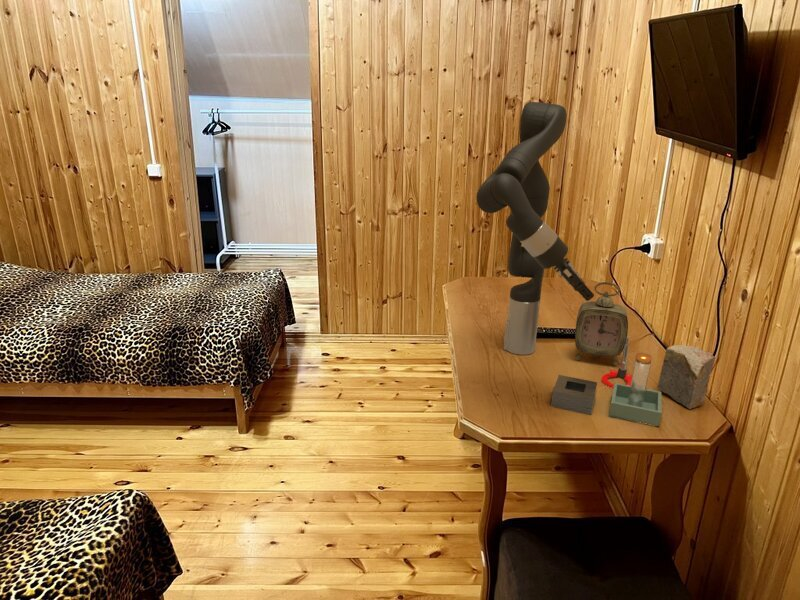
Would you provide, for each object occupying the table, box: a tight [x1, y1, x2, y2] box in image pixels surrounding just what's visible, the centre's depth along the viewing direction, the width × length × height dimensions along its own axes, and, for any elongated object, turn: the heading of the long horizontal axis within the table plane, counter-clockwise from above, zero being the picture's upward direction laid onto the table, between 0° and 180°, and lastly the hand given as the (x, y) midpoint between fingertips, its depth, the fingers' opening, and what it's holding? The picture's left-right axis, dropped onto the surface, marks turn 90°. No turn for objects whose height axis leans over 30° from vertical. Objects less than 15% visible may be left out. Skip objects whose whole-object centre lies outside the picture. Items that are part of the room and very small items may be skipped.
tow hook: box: [601, 336, 633, 389], centre depth 160 cm, size 8×13×9 cm
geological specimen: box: [657, 344, 716, 410], centre depth 151 cm, size 11×6×15 cm, turn 24°
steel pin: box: [627, 352, 653, 407], centre depth 145 cm, size 4×4×15 cm
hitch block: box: [550, 374, 598, 416], centre depth 150 cm, size 10×10×4 cm
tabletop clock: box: [574, 281, 629, 367], centre depth 172 cm, size 14×9×25 cm, turn 72°
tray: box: [608, 382, 663, 427], centre depth 147 cm, size 12×12×4 cm
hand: (586, 292), depth 138 cm, fingers open, 8 cm apart
